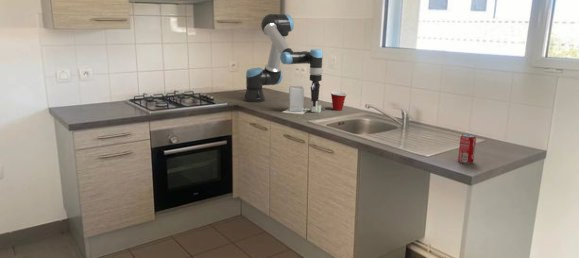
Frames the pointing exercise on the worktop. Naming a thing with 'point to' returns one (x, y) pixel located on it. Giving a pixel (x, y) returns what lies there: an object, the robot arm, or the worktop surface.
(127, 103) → the worktop surface
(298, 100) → the supplement box
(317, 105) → the button
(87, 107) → the worktop surface
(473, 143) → the soda can
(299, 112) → the sketch pad
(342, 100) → the plastic cup
